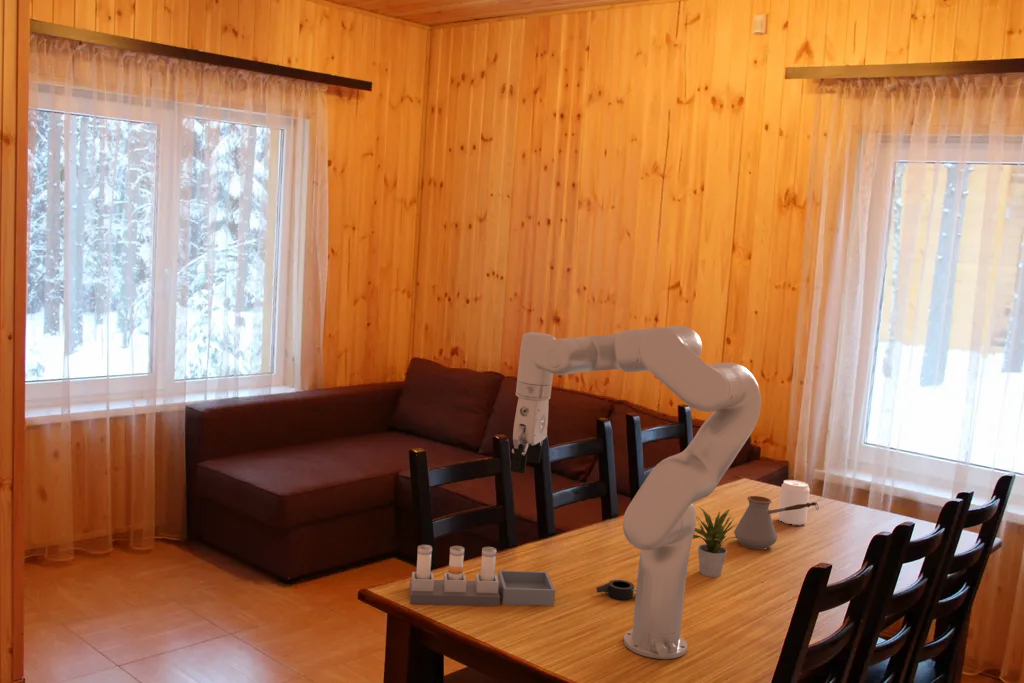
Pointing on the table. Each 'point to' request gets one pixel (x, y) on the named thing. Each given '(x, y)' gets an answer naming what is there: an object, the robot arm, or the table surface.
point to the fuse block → (454, 591)
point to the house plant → (712, 544)
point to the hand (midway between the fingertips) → (525, 467)
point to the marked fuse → (456, 563)
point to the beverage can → (793, 502)
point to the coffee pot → (760, 523)
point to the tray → (525, 588)
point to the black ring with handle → (618, 590)
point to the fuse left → (423, 562)
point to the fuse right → (488, 564)
